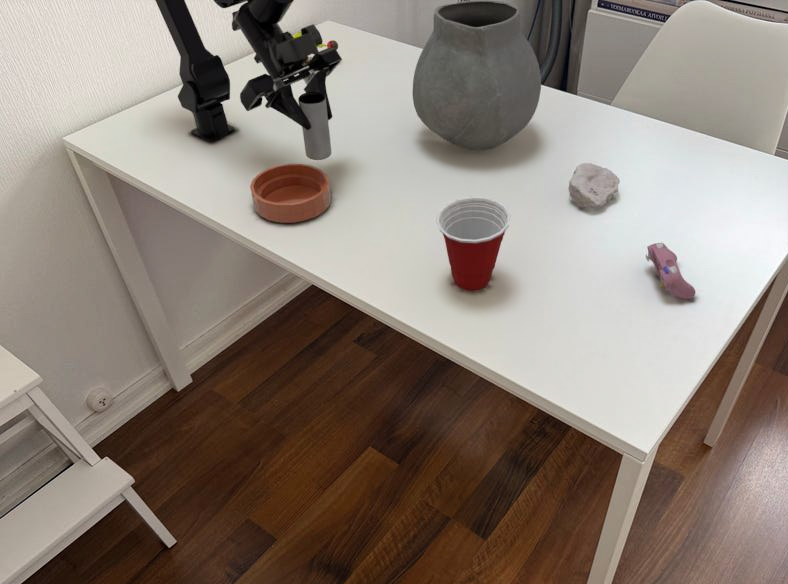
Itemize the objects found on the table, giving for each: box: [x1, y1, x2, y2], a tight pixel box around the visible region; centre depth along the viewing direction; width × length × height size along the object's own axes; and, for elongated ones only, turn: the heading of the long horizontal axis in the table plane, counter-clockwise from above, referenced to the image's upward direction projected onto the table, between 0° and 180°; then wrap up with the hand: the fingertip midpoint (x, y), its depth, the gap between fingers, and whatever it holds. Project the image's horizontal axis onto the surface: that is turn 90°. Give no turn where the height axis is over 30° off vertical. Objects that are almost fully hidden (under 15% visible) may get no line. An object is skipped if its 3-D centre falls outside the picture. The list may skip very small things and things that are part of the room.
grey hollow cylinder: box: [297, 92, 332, 161], centre depth 115 cm, size 4×4×10 cm
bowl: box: [249, 163, 332, 224], centre depth 119 cm, size 14×14×4 cm
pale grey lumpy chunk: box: [568, 162, 621, 209], centre depth 120 cm, size 9×6×10 cm
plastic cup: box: [435, 196, 512, 292], centre depth 101 cm, size 11×11×12 cm
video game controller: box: [645, 241, 696, 300], centre depth 103 cm, size 10×5×7 cm, turn 5°
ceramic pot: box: [411, 0, 542, 151], centre depth 128 cm, size 24×24×25 cm
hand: (320, 123), depth 114 cm, fingers closed on grey hollow cylinder, 4 cm apart
